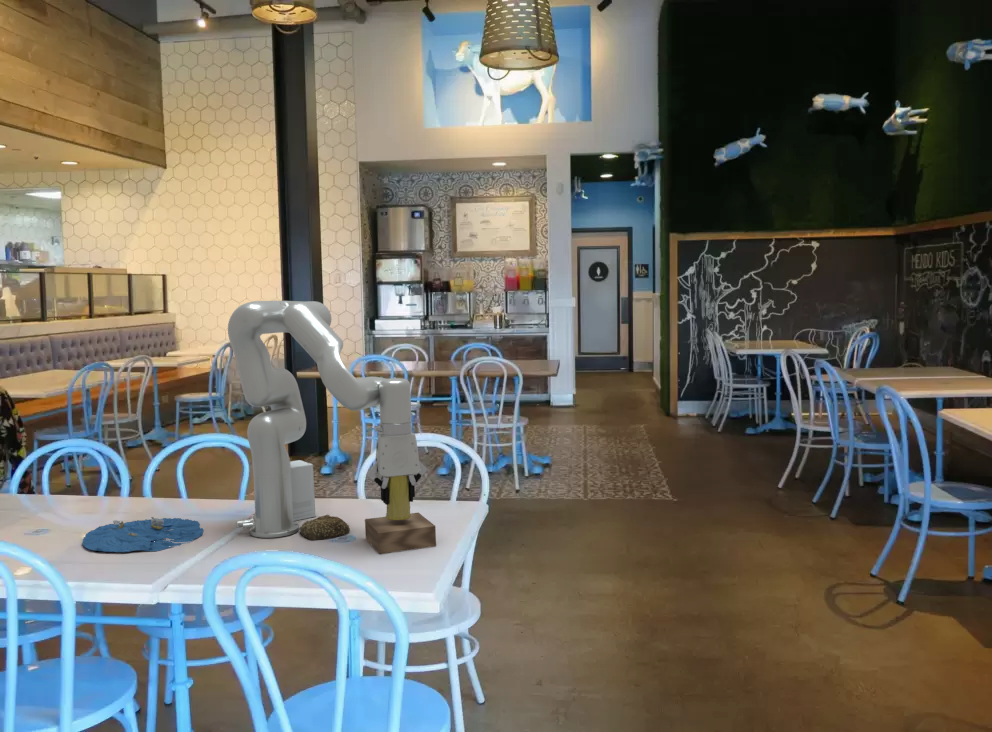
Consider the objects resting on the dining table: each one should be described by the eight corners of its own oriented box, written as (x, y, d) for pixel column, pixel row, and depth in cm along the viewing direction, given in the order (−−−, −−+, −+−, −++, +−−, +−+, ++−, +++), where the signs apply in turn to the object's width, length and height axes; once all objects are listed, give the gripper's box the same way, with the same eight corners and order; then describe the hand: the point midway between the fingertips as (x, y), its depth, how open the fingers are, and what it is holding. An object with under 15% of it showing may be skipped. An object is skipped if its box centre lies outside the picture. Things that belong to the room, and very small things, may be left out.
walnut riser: (379, 553, 203) (378, 533, 202) (365, 538, 215) (364, 519, 215) (436, 546, 208) (435, 525, 207) (419, 531, 221) (418, 512, 220)
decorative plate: (229, 530, 233) (229, 511, 232) (158, 563, 204) (157, 541, 204) (136, 519, 241) (136, 501, 240) (55, 550, 212) (55, 529, 211)
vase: (387, 521, 207) (386, 463, 206) (384, 515, 213) (382, 458, 212) (412, 519, 209) (411, 461, 208) (408, 513, 215) (407, 457, 213)
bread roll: (305, 543, 214) (304, 523, 213) (297, 531, 225) (296, 512, 225) (355, 536, 219) (354, 517, 218) (345, 525, 230) (344, 506, 230)
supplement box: (302, 511, 245) (300, 459, 243) (316, 517, 238) (314, 463, 236) (272, 516, 239) (269, 463, 238) (285, 523, 232) (283, 468, 231)
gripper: (365, 434, 202) (367, 509, 204) (434, 428, 209) (436, 501, 211) (357, 429, 209) (360, 502, 211) (425, 424, 216) (426, 495, 217)
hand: (398, 501), depth 211 cm, fingers closed on vase, 5 cm apart
